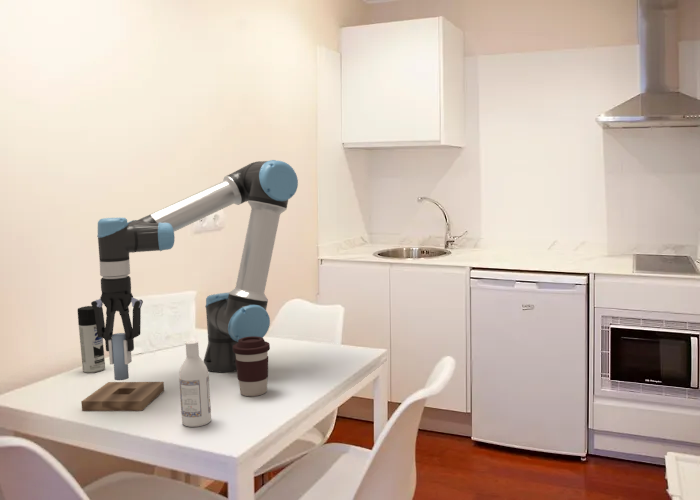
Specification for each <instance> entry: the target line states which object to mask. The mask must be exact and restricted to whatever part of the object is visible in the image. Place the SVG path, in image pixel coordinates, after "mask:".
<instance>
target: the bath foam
mask: <svg viewBox="0 0 700 500" xmlns="http://www.w3.org/2000/svg"><path fill="white" fill-rule="evenodd" d="M199 350H200V349H199V341H197V340H188V341H185V353H186V354H185V355H186V357H185V359H184V361H183V362H182V364H181V367H180V369H179V377H178V382H179V396H180V397H179V399H180V410H181V411H180V412H181V413H180V414H181V423H182V425H184V426H186V427H189V428H196V427H202V426H205V425H208V424H209V423H210V422H211V420H212V412H211V411H212V409H211V408H212V405H211V393H210V376H209V371H208V369H207V367H206V365H205V363H204V360H203V359H202V357H200V353H199V352H200V351H199Z"/></svg>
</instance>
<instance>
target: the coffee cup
mask: <svg viewBox="0 0 700 500" xmlns="http://www.w3.org/2000/svg"><path fill="white" fill-rule="evenodd" d="M270 348H271V346H270V343H269V341H265V339H264V337H263V338H262V337H258V336H251V337H244V338H241V339H239V340H238V343H236V344H235V345H233V352H234V353H235V354H236V359H235V361H236V369H237V371H236V374H237V376H236V378H237V380H238V384H239V385H238V386H239V392H240V394H241V395H242V396H244V397H257V396H261V395H264V394H266V392H267V390H268V377H269V356H268V352H269V351H270Z"/></svg>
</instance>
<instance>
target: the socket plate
mask: <svg viewBox="0 0 700 500" xmlns="http://www.w3.org/2000/svg"><path fill="white" fill-rule="evenodd" d="M164 391H165V383H164V381H107V383H105V384H104V385H102V386H101V387H99V388H98V389H97V390H96V391H94V392H93V393H91V394H90V395H88V396H87V397H86V398H84V399H83V400H81V403H80V404H81V411H82V412H83V411H84V412H85V411H86V412H87V411H89V412H90V411H91V412H92V411H93V412H99V411H100V412H103V411H104V412H107V411H109V412H113V411H115V412H117V411H118V412H123V411H124V412H127V411H129V412H132V411H133V412H134V411H135V412H137V411H143V410H144V409H145V408H147V407H148V406H149V405H150V404H151V403H152V402H153V401H154V400H155V399H157V398H158V397H159V396H160V394H162V393H163V392H164Z"/></svg>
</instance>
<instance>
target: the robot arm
mask: <svg viewBox="0 0 700 500" xmlns="http://www.w3.org/2000/svg"><path fill="white" fill-rule="evenodd" d="M222 179H223V180H222V181H220V182H218V183H215V184H214V185H211V186H209V187H207V188H205V189H203V190H201V191H198V192H196V193H194V194H192V195H189V196H187V197H185V198H183V199H181V200H178V201H177V202H174V203H172V204H170V205H168V206H165V207H163V208H161V209H159V210H157V211H154V212H152V213H150V214H149V215H145V216H143V217H142V218H139V219H133V220H131V221H128V219H127V218H126V217H103V218H100V219H99V220H97V237H96V238H97V243H98V257H99V275H100V276H101V278H100V291H101V294H100V295H101V296H100V298H99V299H95V300H93V301H91V303H90V304H91V305H90V306H92V307H93V309H94V312H95V320H96V328H97V335H98V337H99V338H103V340H104V341H105V345H104V346H105V351H106V352H108V357H109V359H108V360H109V365H114V362H113V346H112V335H113V334H114V325H115V316H116V313H117V312H119V316H120V319H121V322H122V326H123V332H124V333H125V336H126V339H125V340H123V343H124V359H125V364H128V365H129V364H130V363H132V351H134V349H135V344H134V342H135V341H134V339H135V338H137V337H139V336H140V335H141V325H142V324H141V323H142V322H141V318H142V317H141V316H142V315H141V311H142V310H141V309H142V307H143V303H144V301H143V300H142V299H137V298H135V297H134V295H133V293H132V282H131V281H132V279H131V277H130V274H131V264H130V263H131V261H130V254H131V253H132V254H133V253H134V254H135V253H143V252H157V251H160V252H161V251H167V250H171V249H172V248H173V247H174V245H175V238H176V237H175V232H177V231H179V230H182V229H183V228H186V227H187V226H189V225H191V224H193V223H195V222H198V221H200V220H203V219H204V218H207V217H209V216H210V215H213V214H214V213H217V212H219V211H221V210H223V209H225V208H228V207H230V206H232V205H234V204H235V205H237V206H240V205H241V204H244V203H246V202H247V203H248V205H249V206H250V208H251V210H250V215H249V220H248V225H247V229H246V235H245V239H244V244H243V248H242V249H243V250H242V254H241V258H240V263H239V269H238V274H237V278H236V279H237V280H236V282H235V284H236V285H235V287H234V288H233V289H232V290H230V291H229V292H222V293H214V294H211V295H208V296H207V297H206V298H205V311H206V312H205V313H206V324H207V326H206V328H207V330H206V331H207V346H206V350H205V352H204V353H205V354H204V359H203V362H204V363H205V365H206V367H207V369H208V372H215V373H229V372H230V373H231V372H237V369H236V361H235V359H236V354H235V353H234V352H233V345H235V344H236V343H238V340H239V339H241V338H244V337H251V336H258V337H262V338H263V339H264V337H265V336H266V334H267V333H268V331H269V328H270V324H271V318H270V315H269V313H268V311H267V308H268V302H269V299H268V297H267V296H266V295H265V294H266V293H265V291H266V287H267V283H268V282H267V280H268V276H269V271H270V266H271V262H272V256H273V250H274V247H275V243H276V242H275V241H276V236H277V231H278V226H279V222H280V216H281V215H282V214H283V212H285V211H287V208H288V203H289V200H291V198H292V197H294V195H295V194H296V192H297V190H298V186H299V182H298V181H299V179H298V176H297V173H296V171H295V169H294V168H293V167H292V166H291V165H290V164H289V163H288V162H285V161H284V160H283V161H282V160H276V159H270V160H262V161H255V162H254V161H253V162H251V163H248V164H246V165H245V166H243V167H241V168H239V169H237V170H235V171H234V172H232V173H229V174H227V175H225V176H224V177H223V178H222ZM130 304H131V307H133V308H132V321H131V316H130V309H129V306H130ZM103 306H104V307H105V308H106V310H105V311H106V312H105V314H104V311H103V310H104V309H103ZM104 315H106V318H105V316H104Z"/></svg>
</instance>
